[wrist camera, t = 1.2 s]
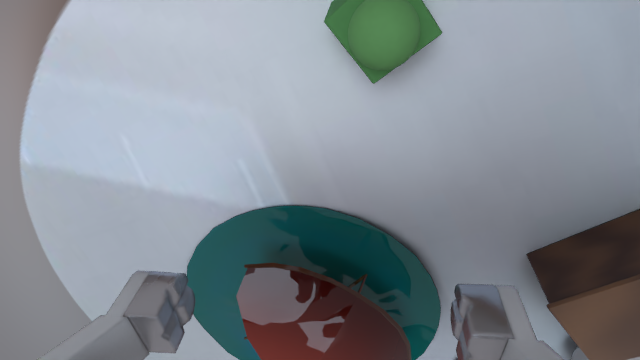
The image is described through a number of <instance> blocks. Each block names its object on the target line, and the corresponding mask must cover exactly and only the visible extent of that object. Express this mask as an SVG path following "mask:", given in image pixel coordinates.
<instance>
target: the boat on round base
mask: <svg viewBox="0 0 640 360" xmlns="http://www.w3.org/2000/svg"><path fill="white" fill-rule="evenodd" d="M187 278H188V280H189V281H188V283H187V286H188V287H190V288H191V289H192V290H193V292H194V294H195V308H194V312H193V314H194V316H195V318H196V319H197V320H198V322H199V323H200V324H201V325H202V327H203V328H204V329H205V330H206V331H207V332H208V333H209V334H210V335H211V336H212V337H213V338H214V339H215V340H216V341H217V342H218V343H219V344H220V345H221V346H222V347H223V348H224V349H225V350H226V351H227V352H228V353H230V354H231V355H233V356H235V357H236V358H238V359H239V360H416V359H417V358H418V357H419V356H421V355H422V354H423V353H424V352H425V350H426V349H427V347H428V346H429V344H430V343H431V341H432V340H433V338H434V336H435V333H436V331H437V328H438V326H439V320H440V314H441V307H440V300H439V297H438V293H437V290H436V287H435V285H434V283H433V281H432V279H431V277H430V275H429V274H428V272H427V271H426V269H425V268H424V267H423V265H422V264H421V262H420V261H419V260H418V258H417V257H416V256H415V255H414V254H413V253H412V252H410V251H409V250H408V249H407V248H405V247H404V246H403V245H402V244H401V243H399V242H398V241H397V240H396V239H394V238H393V237H392V236H391V235H389V234H387V233H385V232H383V231H381V230H380V229H378V228H376V227H374V226H372V225H370V224H368V223H366V222H365V221H363V220H361V219H359V218H356V217H353V216H349V215H346V214H343V213H340V212H336V211H333V210H330V209H326V208H318V207H311V206H277V207H269V208H264V209H259V210H254V211H250V212H247V213H244V214H241V215H238V216H235V217H233V218H231V219H230V220H228V221H226V222H224V223H222V224H220V225H219V226H217V227H215V228H213V229H212V230H211V232H210V233H209V234H208V235H207V236H206V237H205V238H204V239H203V240H202V241H201V242H200V243H199V245H198V246H197V247H196V249H195V252H194V254H193V256H192V258H191V260H190V262H189V264H188V267H187Z"/></svg>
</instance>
